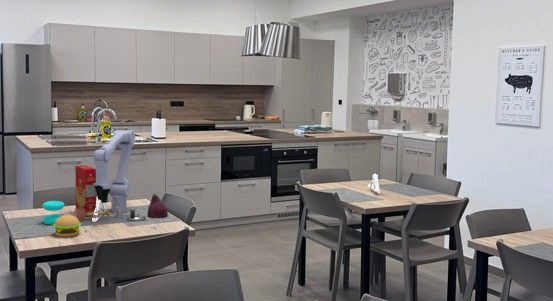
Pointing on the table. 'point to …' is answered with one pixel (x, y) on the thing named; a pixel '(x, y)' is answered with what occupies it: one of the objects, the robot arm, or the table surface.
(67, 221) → the hamburger
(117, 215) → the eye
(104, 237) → the table surface
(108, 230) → the table surface
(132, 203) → the table surface
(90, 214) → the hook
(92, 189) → the food packaging
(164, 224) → the table surface
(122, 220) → the board
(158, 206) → the vegetable
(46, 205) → the cyan stacked discs
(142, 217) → the handwheel
